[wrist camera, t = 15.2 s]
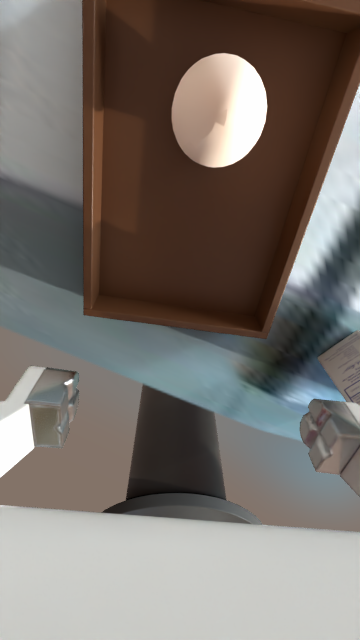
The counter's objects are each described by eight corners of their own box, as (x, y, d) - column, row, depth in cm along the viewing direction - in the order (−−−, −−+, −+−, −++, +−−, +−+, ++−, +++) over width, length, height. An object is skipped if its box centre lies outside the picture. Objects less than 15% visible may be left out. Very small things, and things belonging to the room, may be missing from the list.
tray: (257, 320, 26) (266, 339, 24) (93, 297, 25) (83, 315, 22) (356, 24, 17) (389, 2, 14) (97, -35, 15) (81, -72, 13)
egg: (264, 133, 19) (303, 128, 13) (198, 180, 20) (207, 194, 14) (227, 48, 17) (253, -4, 11) (156, 106, 18) (146, 88, 12)
